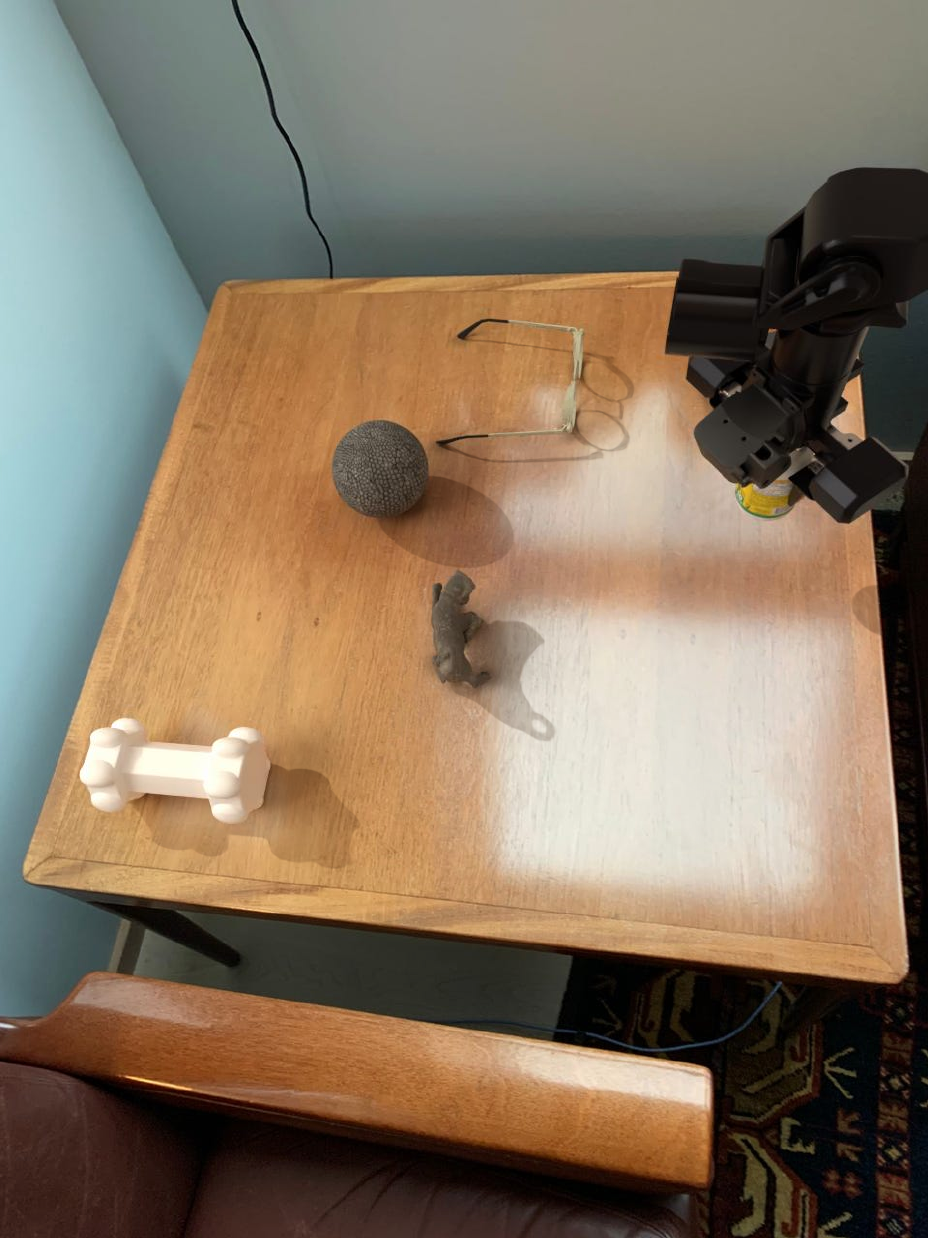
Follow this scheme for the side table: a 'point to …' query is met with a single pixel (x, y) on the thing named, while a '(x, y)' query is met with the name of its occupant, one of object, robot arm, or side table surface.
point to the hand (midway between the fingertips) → (770, 480)
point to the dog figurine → (454, 630)
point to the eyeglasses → (571, 394)
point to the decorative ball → (380, 469)
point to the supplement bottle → (772, 492)
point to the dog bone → (176, 769)
